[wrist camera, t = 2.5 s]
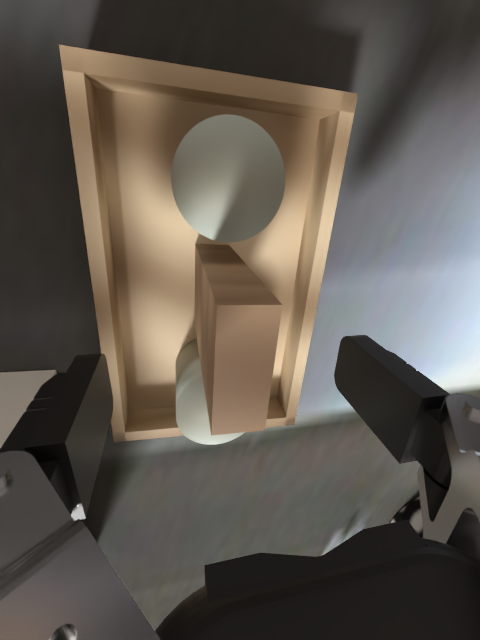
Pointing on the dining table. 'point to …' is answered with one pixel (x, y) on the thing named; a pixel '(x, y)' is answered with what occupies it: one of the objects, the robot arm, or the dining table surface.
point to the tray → (203, 236)
